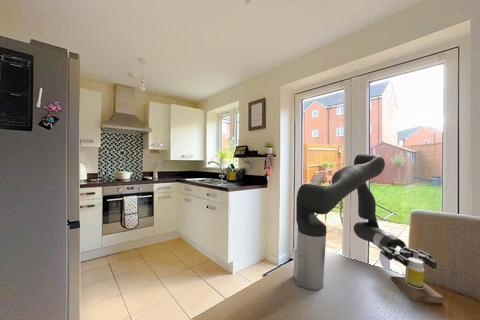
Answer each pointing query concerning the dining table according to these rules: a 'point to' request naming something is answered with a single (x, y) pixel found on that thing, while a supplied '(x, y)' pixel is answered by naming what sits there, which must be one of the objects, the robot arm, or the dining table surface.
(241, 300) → the dining table surface
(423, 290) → the block
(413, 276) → the supplement bottle
